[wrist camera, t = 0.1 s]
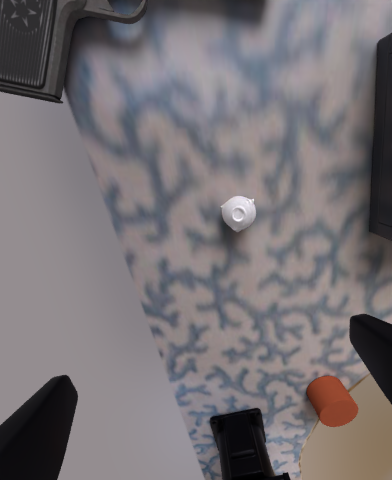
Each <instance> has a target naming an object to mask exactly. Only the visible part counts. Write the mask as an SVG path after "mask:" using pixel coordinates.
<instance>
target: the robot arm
mask: <svg viewBox="0 0 392 480" xmlns="http://www.w3.org/2000/svg"><path fill="white" fill-rule="evenodd" d="M349 336H350V341H351V343H352V345H353V347H354V348H355V350H356V351H357V353H358V355H359V356H360V358H361V359H362V361H363V362H364V364H365V365H366V367H367V368H368V370H369V372H370V373H371V375H372V376H373V378H374V379H375V381H376V382H377V384H378V386H379V387H380V388H381V390H382V391H383V393H384V394H385V396H386V397H387V399H388V400H389V401H390V402H391V404H392V324H390V323H387V322H385V321H382V320H380V319H377V318H375V317H372V316H370V315H367V314H360V315H355V316H352V317H351V318H350V335H349ZM77 400H78V394H77V391H76V389H75V387H74V385H73V384H72V382H71V380H70V378H69V377H68V376H67V375H62V376H57V377H54V378H52V379H50V380H49V381H48V382H47V383H46V384H45V385H44V386H43V387H42V388H41V389H40V390H38V391H37V392H36V393H35V394H34V395H33V396H32V397H31V398H30V399H29V400H27V401H26V402H25V403H24V404H23V405H22V406H21V407H20V408H19V409H18V410H17V411H16V412H14V413H13V414H12V415H11V416H10V417H9V418H8V419H7V420H6V421H5V422H3V424H1V425H0V480H57V478H58V475H59V472H60V469H61V466H62V463H63V459H64V455H65V452H66V447H67V443H68V439H69V435H70V431H71V426H72V422H73V417H74V414H75V409H76V405H77ZM210 424H211V427H212V431H213V434H214V438H215V441H216V445H217V448H218V451H219V455H220V463H221V471H222V480H290V477H289V474H288V472H287V473H283V475H277V476H274V473H273V470H272V466H271V463H270V459H269V456H268V452H267V449H266V445H265V442H266V438H265V432H264V426H263V420H262V414H261V410H260V409H259V408H255V409H250V410H245V411H240V412H235V413H229V414H224V415H219V416H214V417H211V418H210Z"/></svg>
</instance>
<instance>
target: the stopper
mask: <svg viewBox="0 0 392 480" xmlns="http://www.w3.org/2000/svg"><path fill="white" fill-rule="evenodd" d="M307 396H308V398H309V400H310V402H311V404H312V406H313V407H314V409H315V411H316V413H317V415H318V417H319V419H320V421H321V422H322V423H323V424H324V425H326V426H330V427H337V426H342V425H345V424H347V423H349V422H350V421H352V420H353V419H354V418H355V417H356V415H357V413H358V406H357V404H356V403H355V401H354V400H353V399H352V397H351V396H350V394H349V393H348V391H347V390H346V389H345V387H344V386H343V384H342V383H341V381H340V380H339V379H338V378H336V377H333V376H324V377H320V378H318V379H316V380H314V381H313V382H312V383H311V384H310V385H309V386H308V388H307Z"/></svg>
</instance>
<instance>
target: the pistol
mask: <svg viewBox="0 0 392 480" xmlns="http://www.w3.org/2000/svg"><path fill="white" fill-rule="evenodd" d="M147 3H148V0H142V2H141V4H140V6H139V7H138V9H137V10H136V11H135V12H133V13H132V14H129V15H126V14H120V13H115V12H114V11H113V9H112V8H111V6H110V4H109V2H108V0H0V91H1V92H4V93H9V94H14V95H20V96H25V97H30V98H35V99H40V100H45V101H50V102H55V103H63V102H62V101H60V99H61V97H62V91H63V85H64V79H65V73H66V66H67V60H68V54H69V48H70V42H71V36H72V30H73V28H74V25H75V23H76V21H77V20H78V19H80V18H84V17H86V16H91V17H96V18H101V19H106V20H110V21H115V22H120V23H125V24H133V23H136V22H138V21H139V20H140V19H141V18H142V17H143V15H144V14H145V12H146V9H147Z"/></svg>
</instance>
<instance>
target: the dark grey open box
mask: <svg viewBox="0 0 392 480" xmlns="http://www.w3.org/2000/svg"><path fill="white" fill-rule="evenodd" d="M369 232H372V233H374V234H377V235H379V236H382V237H384V238H386V239H389V240H391V241H392V33H391V34H389V35H387V36H386V37H384V38H382V39H380V40H379V42H378V62H377V83H376V103H375V123H374V144H373V164H372V184H371V205H370V225H369Z"/></svg>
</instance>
